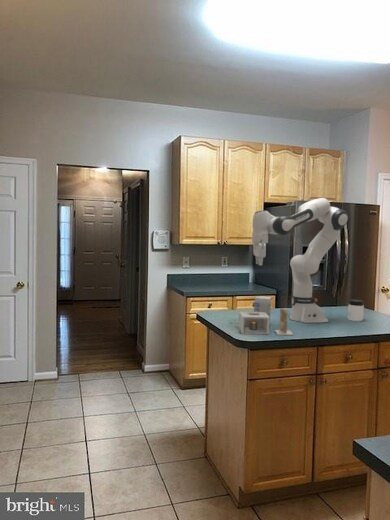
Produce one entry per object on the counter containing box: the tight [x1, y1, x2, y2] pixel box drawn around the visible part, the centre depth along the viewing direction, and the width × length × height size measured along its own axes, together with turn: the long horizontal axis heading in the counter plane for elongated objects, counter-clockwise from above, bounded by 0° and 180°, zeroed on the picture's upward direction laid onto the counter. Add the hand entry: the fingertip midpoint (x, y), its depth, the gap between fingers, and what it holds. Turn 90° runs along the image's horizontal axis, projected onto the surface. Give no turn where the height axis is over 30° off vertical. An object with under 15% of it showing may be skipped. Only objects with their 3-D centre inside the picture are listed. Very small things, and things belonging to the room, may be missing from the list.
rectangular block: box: [279, 308, 289, 333], centre depth 212 cm, size 3×3×12 cm
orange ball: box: [250, 321, 257, 330], centre depth 217 cm, size 4×4×4 cm
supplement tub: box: [253, 295, 272, 324], centre depth 237 cm, size 10×10×15 cm
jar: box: [347, 299, 365, 322], centre depth 251 cm, size 9×8×12 cm
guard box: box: [238, 310, 271, 335], centre depth 217 cm, size 14×14×9 cm
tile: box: [274, 329, 294, 337], centre depth 212 cm, size 8×8×1 cm
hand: (259, 264), depth 228 cm, fingers open, 8 cm apart
